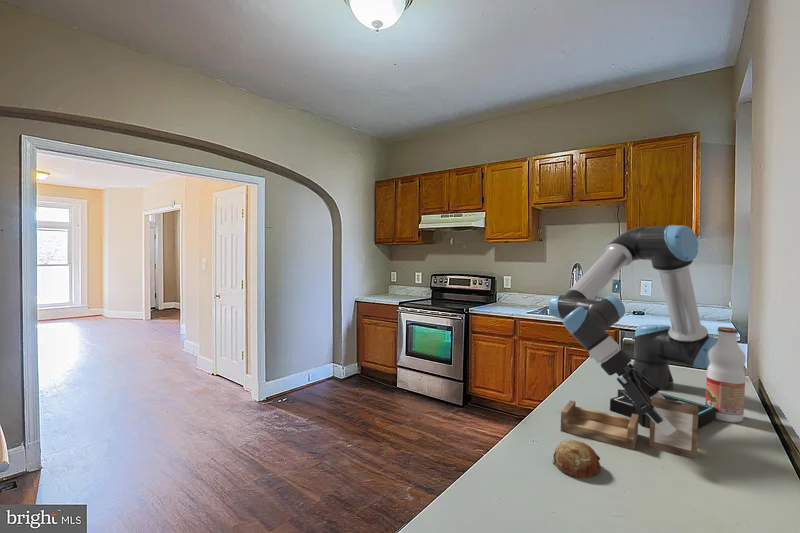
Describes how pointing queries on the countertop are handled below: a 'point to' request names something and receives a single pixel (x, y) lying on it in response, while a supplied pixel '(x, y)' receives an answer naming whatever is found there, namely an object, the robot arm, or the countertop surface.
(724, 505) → the countertop surface
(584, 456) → the bread roll
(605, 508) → the countertop surface
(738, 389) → the fruit juice
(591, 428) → the wooden tray
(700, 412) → the wall plaque
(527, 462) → the countertop surface
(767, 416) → the countertop surface
